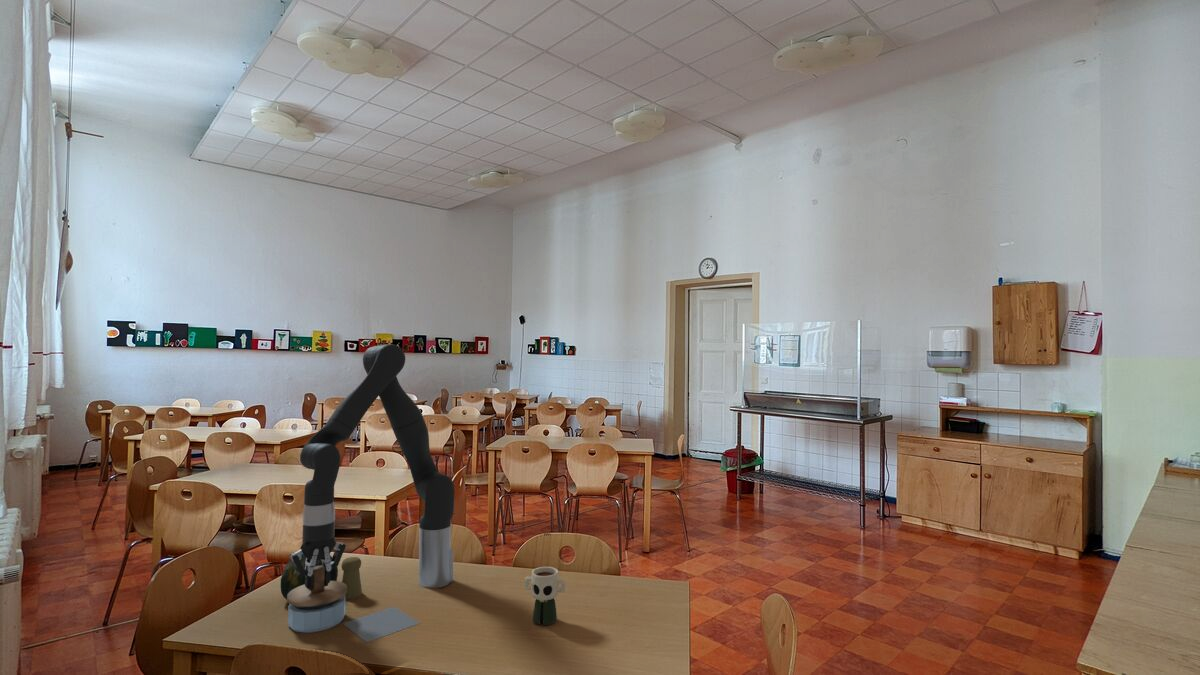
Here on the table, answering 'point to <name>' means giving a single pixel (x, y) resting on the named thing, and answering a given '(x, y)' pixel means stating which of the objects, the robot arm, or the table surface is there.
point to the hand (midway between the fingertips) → (317, 587)
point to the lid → (317, 591)
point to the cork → (352, 577)
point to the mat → (380, 624)
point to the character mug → (545, 593)
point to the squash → (299, 576)
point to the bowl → (316, 616)
